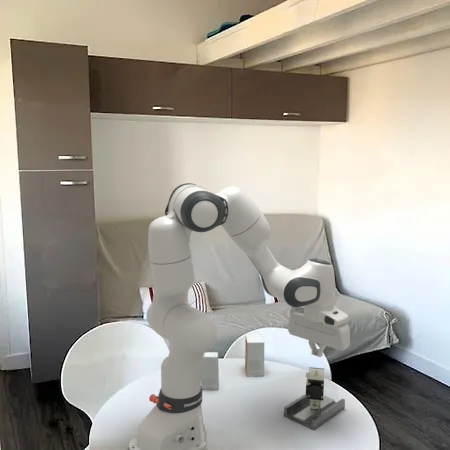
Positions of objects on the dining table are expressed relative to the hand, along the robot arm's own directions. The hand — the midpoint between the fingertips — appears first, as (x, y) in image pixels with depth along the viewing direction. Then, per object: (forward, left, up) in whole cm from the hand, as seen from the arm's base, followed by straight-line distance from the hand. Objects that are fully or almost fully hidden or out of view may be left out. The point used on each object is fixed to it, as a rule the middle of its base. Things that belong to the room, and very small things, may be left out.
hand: (317, 355), depth 155 cm
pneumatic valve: (0, +1, -17) cm, 17 cm away
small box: (+8, +32, -19) cm, 38 cm away
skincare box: (-12, +35, -19) cm, 41 cm away
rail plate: (0, 0, -19) cm, 19 cm away
